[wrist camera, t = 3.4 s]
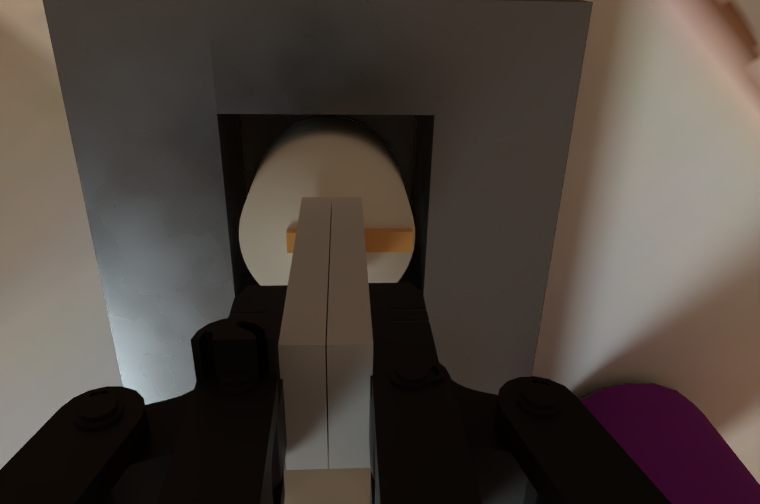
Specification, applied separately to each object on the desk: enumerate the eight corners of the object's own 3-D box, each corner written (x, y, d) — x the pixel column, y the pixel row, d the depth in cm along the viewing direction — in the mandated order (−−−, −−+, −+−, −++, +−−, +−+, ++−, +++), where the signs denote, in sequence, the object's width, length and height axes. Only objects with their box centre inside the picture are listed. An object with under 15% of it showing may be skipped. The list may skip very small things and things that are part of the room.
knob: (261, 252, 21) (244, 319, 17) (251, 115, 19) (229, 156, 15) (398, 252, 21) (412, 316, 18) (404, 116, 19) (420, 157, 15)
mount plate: (184, 498, 28) (163, 577, 25) (97, -16, 19) (40, -9, 15) (480, 488, 29) (500, 563, 26) (546, -8, 20) (592, 2, 16)
